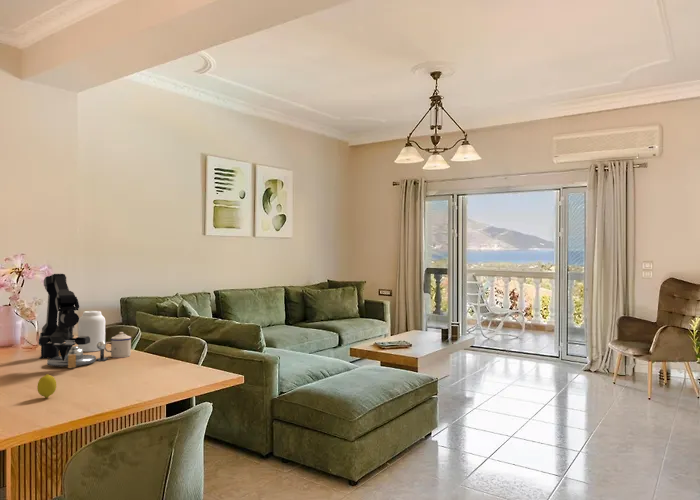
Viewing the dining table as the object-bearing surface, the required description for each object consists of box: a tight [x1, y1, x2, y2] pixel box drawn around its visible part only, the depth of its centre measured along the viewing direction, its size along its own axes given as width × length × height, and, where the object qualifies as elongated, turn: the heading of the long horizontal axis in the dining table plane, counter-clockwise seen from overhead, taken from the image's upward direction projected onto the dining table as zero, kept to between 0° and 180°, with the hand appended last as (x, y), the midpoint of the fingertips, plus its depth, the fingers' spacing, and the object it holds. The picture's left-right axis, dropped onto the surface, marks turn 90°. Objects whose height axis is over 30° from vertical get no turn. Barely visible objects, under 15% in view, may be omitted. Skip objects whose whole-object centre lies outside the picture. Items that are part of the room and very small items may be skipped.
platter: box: [46, 354, 97, 369], centre depth 227 cm, size 19×22×5 cm
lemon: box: [36, 373, 57, 399], centre depth 173 cm, size 6×6×8 cm
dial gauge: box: [95, 342, 109, 362], centre depth 237 cm, size 4×4×9 cm
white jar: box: [77, 310, 106, 353], centre depth 263 cm, size 12×12×20 cm
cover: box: [65, 345, 84, 360], centre depth 228 cm, size 7×7×5 cm
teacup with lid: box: [104, 331, 132, 359], centre depth 247 cm, size 12×9×12 cm
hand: (63, 360), depth 218 cm, fingers closed
